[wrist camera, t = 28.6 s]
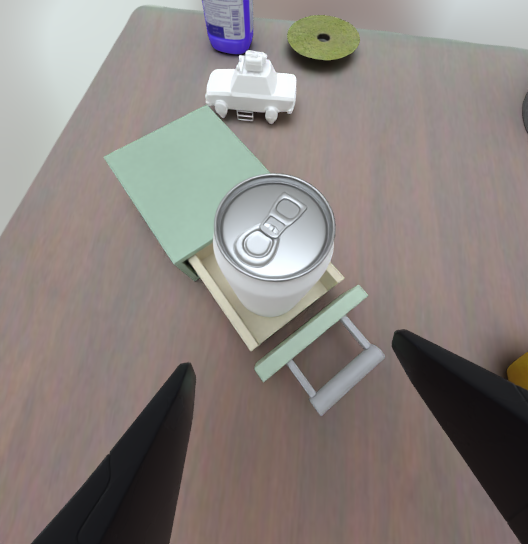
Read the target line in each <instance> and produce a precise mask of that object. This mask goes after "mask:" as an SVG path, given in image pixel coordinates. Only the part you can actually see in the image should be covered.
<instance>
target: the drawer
mask: <svg viewBox="0 0 528 544" xmlns="http://www.w3.org/2000/svg"><path fill="white" fill-rule="evenodd" d="M188 260H189V262H190V263H191V265H192V266H193V268H194V269H195V271H196V272H197V274H198V275H199V277H200V278H201V280H202V281H203V282H204V284H205V285H206V287H207V288H208V290H209V291H210V293H211V294H212V296H213V297H214V299H215V300H216V302H217V303H218V305H219V306H220V307H221V309H222V310H223V312H224V313H225V315H226V316H227V318H228V319H229V321H230V322H231V324H232V325H233V327H234V328H235V329H236V331H237V332H238V334H239V335H240V337H241V338H242V340H243V341H244V343H245V344H246V346H247V347H248V349H249V350H250V351H253V350H254V349H255V348H257V347H258V346H259V345H260V344H261V343H262V342H264V341H265V340H266V339H268V338H269V337H270V336H271V335H273V334H274V333H275V332H276V331H278V330H279V329H280V328H282V327H283V326H284V325H285V324H287V323H288V322H289V321H290V320H292V319H293V318H294V317H296V316H297V315H298V314H299V313H301V312H302V311H303V310H304V309H306V308H307V307H308V306H310V305H311V304H312V303H313V302H315V301H316V300H317V299H319V298H320V297H321V296H322V295H324V294H325V293H326V292H327V291H329V290H330V289H331V288H333V287H334V286H335V285H337V284H338V283H339V282H341V281H342V280H343V279H344V277H343V276H342V275H341V273H340V272H339V271H338V270H337V269H336V268H335V267H334V266H333V264H332V263H331V262H330V263H329V265H328V267H327V269H326V271H325V272H324V274H323V275H322V276H321V278H320V279H319V280H318V281H317V283H316V284H315V285H314V286H313V287H312V288H311V289H310V290H309V292H308V293H307V294H306V295H305V296H304V297H303V298H302V299H301V300H300V301H299V302H298V303H297V304H296V305H295V306H294V307H293V308H292V309H291V310H290V311H288V312H287V313H285V314H283V315H280V316H276V317H263V316H259V315H257V314H255V313H253V312H251V311H249V310H248V309H247V308H246V307H245V306H244V305H243V304H242V303H241V301H240V300H239V298H238V297H237V295H236V294H235V292H234V291H233V289H232V288H231V286H230V284H229V283H228V281H227V280H226V278H225V276H224V275H223V273H222V271H221V269H220V267H219V265H218V263H217V260H216V257H215V254H214V249H213V243H211V244H210V245H208V246H207V247H205V248H203V249H202V250H200V251H199V252H197V253H196V254H194V255H193V256H191V257H190V258H188ZM367 296H368V295H367V293H366V292H365V291H364V290H363V289H362V288H361V287H360V286H359V285H357V286H355V287H353V288H352V289H350V290H348V291H347V292H345V293H343V294H341V295H340V296H339V297H338V298H336V299H335V300H334V301H333V302H331V303H330V304H329V305H328V306H326V307H325V308H324V309H323V310H321V311H320V312H319V313H318V314H316V315H315V316H314V317H313V318H311V319H310V320H309V321H308V322H306V323H305V324H304V325H303V326H301V327H300V328H299V329H298V330H296V331H295V332H294V333H293V334H291V335H290V336H289V337H288V338H286V339H285V340H284V341H283V342H281V343H280V344H279V345H278V346H276V347H275V348H274V349H273V350H271V351H270V352H269V353H268V354H266V355H265V356H264V357H263V358H261V359H260V360H259V361H258V362H256V365H255V368H254V370H255V371H256V373H257V374H258V376H259V377H260V379H261V380H262V382H265V381H266V380H267V379H268V378H269V377H271V376H272V375H273V374H274V373H276V372H277V371H278V370H279V369H280V368H282V367H283V366H284V365H285V364H287V366H288V367H289V369H290V370H291V371H292V373H293V374H294V375H295V377H296V378H297V380H298V381H299V382H300V384H301V385H302V387H303V388H304V389H305V391H306V392H307V394H308V395H309V396H310V398H309V401H310V402H311V404H312V405H313V406H314V408H315V409H316V411H317V412H318V413H319V415H320V416H322V415H323V414H324V413H325V412H326V411H327V410H329V409H330V408H331V407H332V406H333V405H334V404H335V403H336V402H337V401H338V400H339V399H341V398H342V397H343V396H344V395H345V394H346V393H347V392H348V391H349V390H350V389H351V388H353V387H354V386H355V385H356V384H357V383H358V382H359V381H360V380H361V379H362V378H363V377H365V376H366V375H367V374H368V373H369V372H370V371H371V370H372V369H373V368H374V367H375V366H377V365H378V364H379V363H380V362H381V361H382V360H383V359H384V358H385V355H384V354H383V352H382V351H381V350H380V349H379V348H378V347H377V346H375V345H373V344H370V343H369V342H368V341H367V339H366V338H365V337H364V336H363V335H362V334H361V332H360V331H359V330H358V329H357V328H356V327H355V325H354V324H353V323H352V322H351V321H350V319H349V318H348V317H347V316H346V314H347V313H348V312H349V311H350V310H352V309H353V308H354V307H355V306H357V305H358V304H359V303H360V302H361V301H363V300H364V299H365V298H366V297H367ZM338 320H340V322H341V323H342V324H343V325H344V326H345V328H346V329H347V330H348V331H349V332H350V334H351V335H352V336H353V337H354V338H355V340H356V341H357V342H358V343H359V344H360V346H361V347H362V348H363V349H364V350H363V351H362V352H361V353H360V354H359V355H358V356H357V357H355V358H354V359H353V360H352V361H351V362H350V363H349V364H348V365H346V366H345V367H344V368H343V369H342V370H341V371H340V372H339V373H337V374H336V375H335V376H334V377H333V378H332V379H331V380H330V381H328V382H327V383H326V384H325V385H324V386H323V387H322V388H320V389H319V390H318V391H317V392H316V391H315V390H314V389H313V387H312V386H311V385H310V383H309V382H308V380H307V379H306V378H305V376H304V375H303V374H302V372H301V371H300V369H299V368H298V367H297V365H296V364H295V363H294V361H293V360H292V358H294V357H295V356H296V355H297V354H299V353H300V352H301V351H302V350H303V349H305V348H306V347H307V346H308V345H309V344H311V343H312V342H313V341H314V340H315V339H317V338H318V337H319V336H320V335H321V334H323V333H324V332H325V331H326V330H328V329H329V328H330V327H331V326H332V325H334V324H335V323H336V322H337V321H338Z"/></svg>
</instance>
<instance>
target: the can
mask: <svg viewBox="0 0 528 544" xmlns="http://www.w3.org/2000/svg"><path fill="white" fill-rule="evenodd" d="M334 238H335V218H334V214H333V211H332V209H331V207H330V205H329V203H328V201H327V200H326V198H325V197H324V196H323V195H322V193H321V192H320V191H319V190H317V189H316V188H315V187H314V186H313V185H311V184H310V183H308V182H306V181H304V180H302V179H300V178H297V177H295V176H291V175H287V174H279V173H268V174H261V175H257V176H253V177H250V178H248V179H246V180H244V181H242V182H240V183H238V184H237V185H235V186H234V187H233V188H232V189H231V190H230V191H229V192H228V193H227V194H226V195H225V196H224V197H223V199H222V200H221V202H220V204H219V206H218V208H217V211H216V214H215V218H214V235H213V249H214V254H215V257H216V260H217V263H218V265H219V267H220V269H221V271H222V273H223V275H224V276H225V278H226V280H227V281H228V283H229V284H230V286H231V288H232V289H233V291H234V292H235V294H236V295H237V297H238V298H239V300H240V301H241V303H242V304H243V305H244V306H245V307H246V308H247V309H248V310H249V311H251V312H253V313H255V314H257V315H259V316H263V317H276V316H280V315H283V314H285V313H287V312H288V311H290V310H291V309H292V308H293V307H294V306H295V305H296V304H297V303H298V302H299V301H300V300H301V299H302V298H303V297H304V296H305V295H306V294H307V293H308V292H309V290H310V289H311V288H312V287H313V286H314V285H315V284H316V283H317V281H318V280H319V279H320V278H321V276H322V275H323V274H324V272H325V271H326V269H327V267H328V265H329V263H330V260H331V257H332V254H333V247H334Z"/></svg>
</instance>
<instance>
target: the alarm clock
mask: <svg viewBox="0 0 528 544" xmlns="http://www.w3.org/2000/svg"><path fill="white" fill-rule="evenodd" d="M523 119H524V124H525V127H526V130H527V132H528V93H527V94H526V97H525V100H524V102H523Z"/></svg>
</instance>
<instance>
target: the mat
mask: <svg viewBox="0 0 528 544" xmlns="http://www.w3.org/2000/svg"><path fill="white" fill-rule="evenodd" d="M287 35H288V36H287V37H288V38H287V39H288V42H289V44H290V45H291V47H292V48H293V49H294V50H295V51H296V52H298V53H299V54H302V55H303V56H306V57H309V58H313V59H320V60H321V59H322V60H333V59H339V58H342V57H344V56H347V55H349V54H352V52H354V50H355V49H356V48H357V47H358V45H359V42H360V37H359V33H358V32H357V30H356V29H355V27H353V25H351V24H349V22H345V21H344V20H342V19H339V18H335V17H331V16H325V15H317V16H316V15H315V16H309V17H305V18H303V19H300V20H299V21H297V22H295V23H294V24H292V26H291V27H290V28H289V30H288V34H287Z"/></svg>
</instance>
